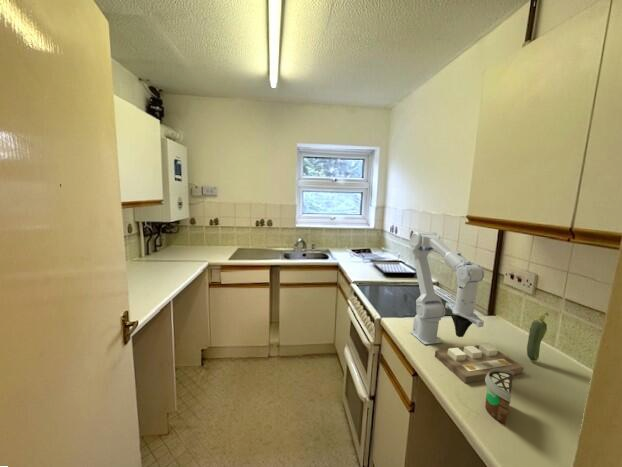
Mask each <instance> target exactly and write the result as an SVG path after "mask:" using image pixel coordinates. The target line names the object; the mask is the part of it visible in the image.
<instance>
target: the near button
mask: <svg viewBox="0 0 622 467" xmlns="http://www.w3.org/2000/svg"><path fill="white" fill-rule="evenodd" d="M459 348H460V347H452V348H447V349H448V353H447V355H449V356H450V357H451V358H452V359H454V360H455V361H462V360H465V359H466V354H465V353H464V352H463V351H461V350H460V349H459Z"/></svg>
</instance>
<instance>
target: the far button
mask: <svg viewBox="0 0 622 467" xmlns="http://www.w3.org/2000/svg"><path fill="white" fill-rule="evenodd" d="M478 345H479V350H480V351H481V352H482V353H483V354H485V355H486V356H488V357H491V356H497V352H498V351H499V350H498V349H497V348H495V347H494V346H493V345H491V344H489V343H484V344H483V343H482V344H478Z"/></svg>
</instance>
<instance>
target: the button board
mask: <svg viewBox="0 0 622 467" xmlns="http://www.w3.org/2000/svg"><path fill="white" fill-rule="evenodd" d="M479 345H480V344H478V345H477V344H476V345H473V346H474V347H476V348H477V349H479ZM464 347H465V346H461V347H458V348H459V349H460V350H461V351H464ZM448 349H449V348H445V349H437V350H434V351H435V352H434V357H435V358H436V359H437V360H438V361H439V362H440V361H441V362H442V363H441V362H440V363H441V364H442V365H443V366H444V367H446V368H447V369H448V370H449V371H450V372H452V373H453V374H454V375H455V376H456V377H457V378H458V379H459V380H461V381H462V382H463V383H464V384H470V383H475V382H476V383H477V382H481V381H485V377H486V376H487V374H488V372H489V371H490V370H492V369H505V370H509V371H512V372H514V376H517V375H523V372H524V370H525V369H524V368H525V367H523V366H522V365H521V364H520V363H518V362H516V361H514V360H513V359H512V358H510V357H508V356H507V355H506V354H503V352H501V351H499V350H498V352H497V356H491V357H488V356H486V355H485V354H483V353H482V357H481V358H477V359H472V358H470V357H469V356H468V355H466V359H465V360H462V361H455V360H454V359H452V358H451V357H450V356H449V355H447V353H448Z"/></svg>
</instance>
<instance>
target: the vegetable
mask: <svg viewBox="0 0 622 467" xmlns="http://www.w3.org/2000/svg"><path fill="white" fill-rule="evenodd" d="M546 316H547V317H548V316H549V312H548V311H542V312H541V313H540V314H539V315H538V316H537V318H536V319H535V320H533V321H532V323H531V325H530V328H529V333H528V338H527V344H526V345H527V346H526V356H527V357H528V359H529V360H530V362H531V363H533V364H534V363H536V362H537V361H538V360H539V357H540V351H541V344H542V343H541V342H542V340H543V339H544V337H545V335H546V333H547V331H548V326H547V323H546V321H545V318H546Z"/></svg>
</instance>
